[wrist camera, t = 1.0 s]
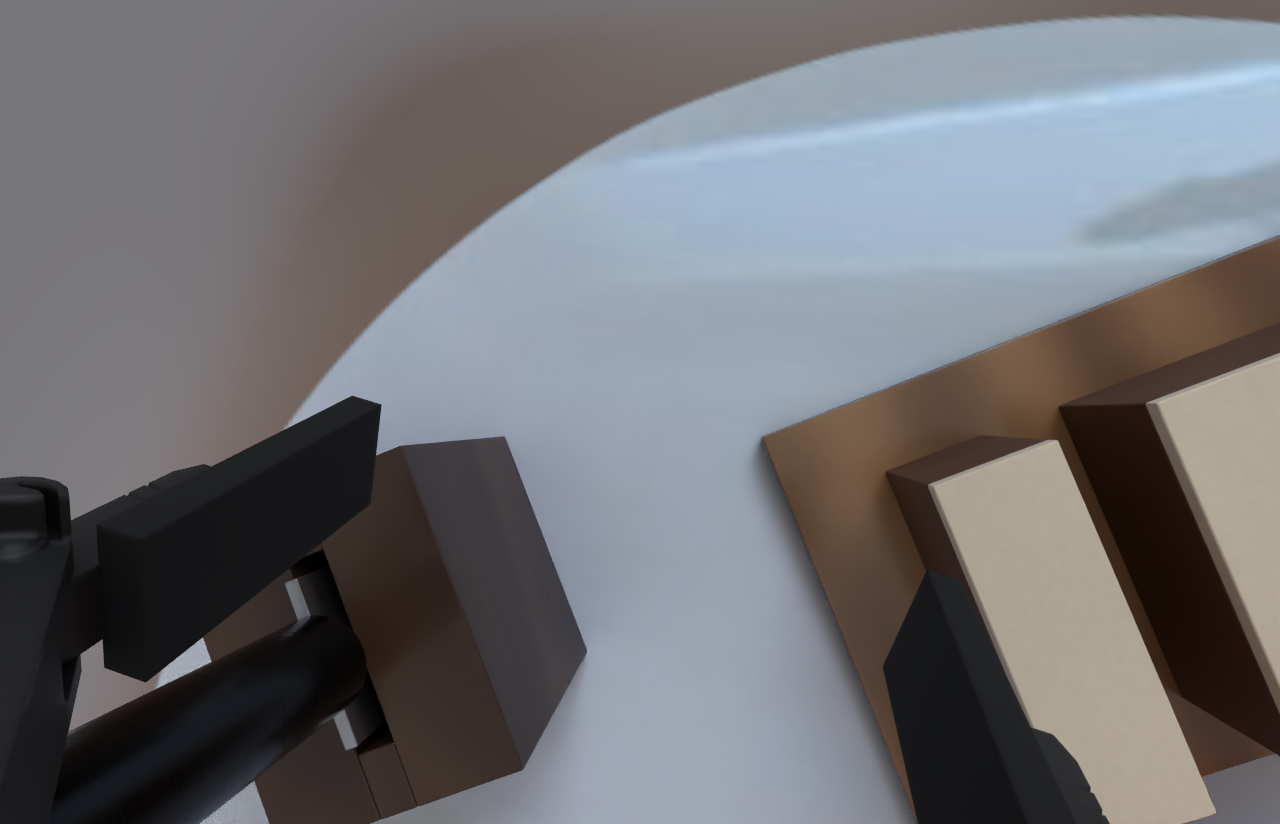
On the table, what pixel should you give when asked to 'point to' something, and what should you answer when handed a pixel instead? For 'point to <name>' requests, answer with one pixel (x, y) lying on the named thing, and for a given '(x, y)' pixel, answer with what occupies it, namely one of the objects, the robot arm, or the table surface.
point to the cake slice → (1054, 617)
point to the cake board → (1007, 407)
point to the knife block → (428, 637)
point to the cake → (1200, 517)
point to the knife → (222, 721)
